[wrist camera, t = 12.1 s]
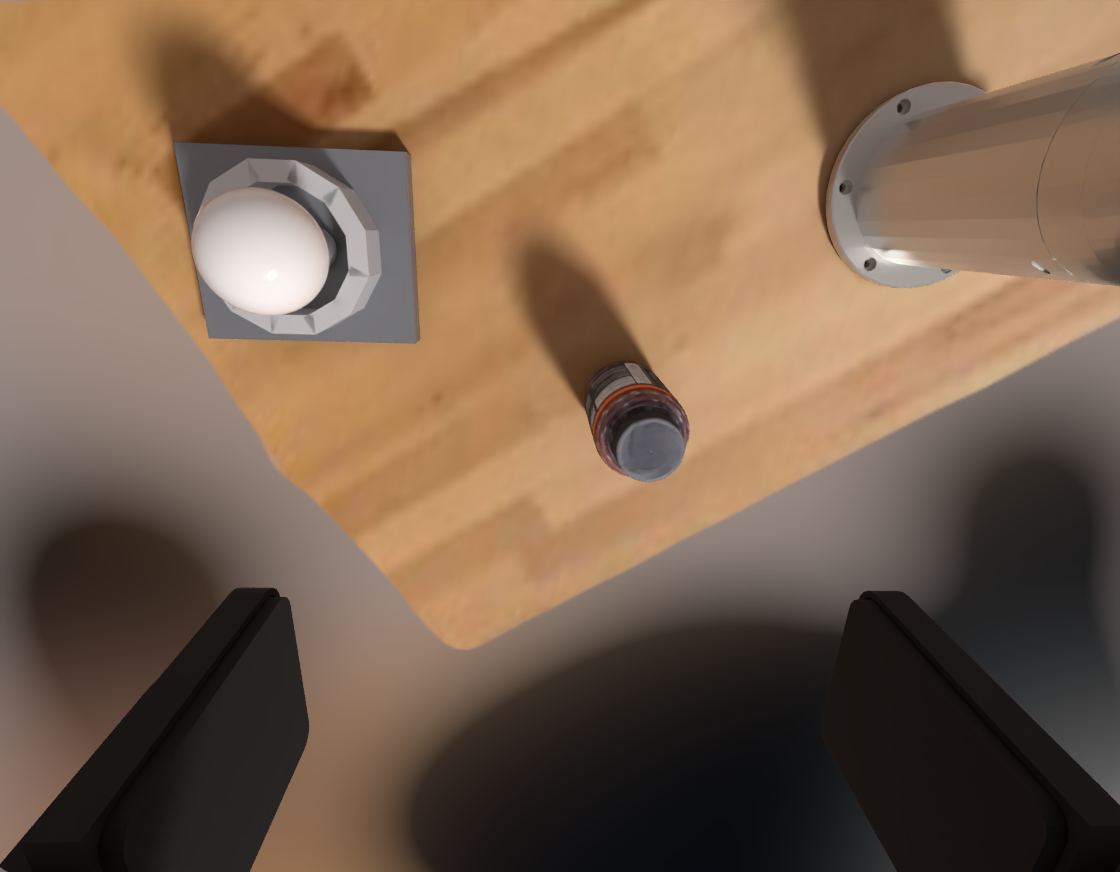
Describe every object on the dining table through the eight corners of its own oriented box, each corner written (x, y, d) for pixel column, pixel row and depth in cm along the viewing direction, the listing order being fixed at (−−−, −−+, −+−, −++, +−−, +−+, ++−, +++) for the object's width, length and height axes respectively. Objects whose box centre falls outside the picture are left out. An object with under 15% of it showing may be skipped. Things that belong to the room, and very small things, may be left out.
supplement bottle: (671, 417, 43) (715, 479, 33) (599, 445, 44) (619, 514, 33) (647, 346, 41) (685, 387, 31) (572, 376, 42) (584, 425, 31)
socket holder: (410, 154, 36) (393, 144, 32) (420, 339, 41) (406, 352, 36) (187, 145, 36) (141, 134, 32) (220, 334, 40) (183, 346, 36)
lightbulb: (267, 187, 35) (154, 172, 25) (369, 202, 36) (300, 193, 26) (271, 290, 38) (169, 315, 27) (368, 303, 38) (303, 332, 28)
